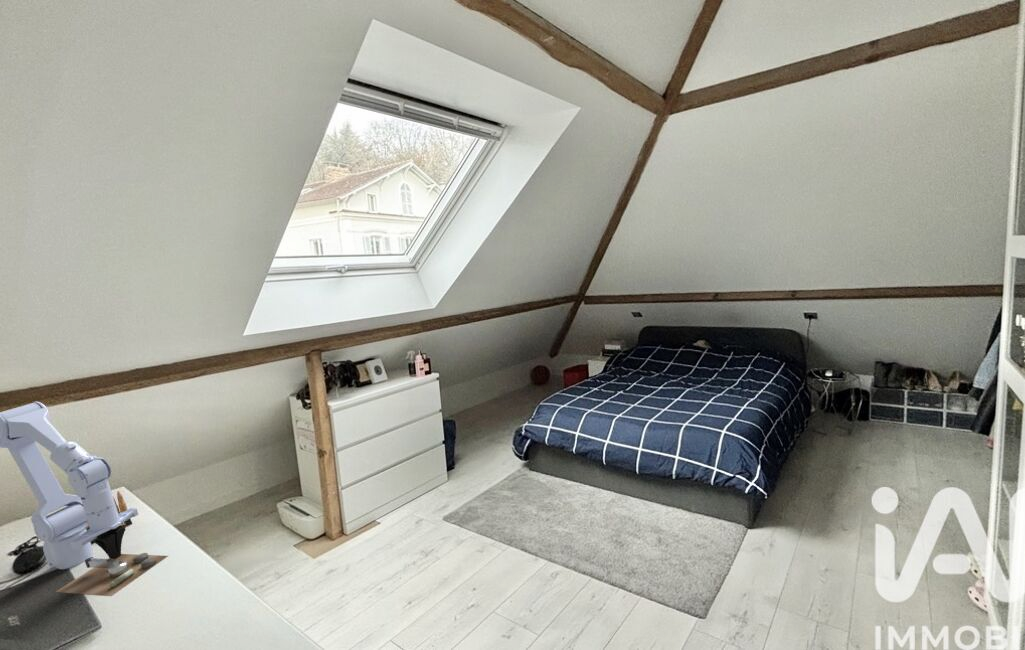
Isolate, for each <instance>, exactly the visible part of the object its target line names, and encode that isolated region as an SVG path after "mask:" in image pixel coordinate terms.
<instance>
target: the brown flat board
mask: <svg viewBox="0 0 1025 650" xmlns="http://www.w3.org/2000/svg"><path fill="white" fill-rule="evenodd" d="M167 557H169V555H155V554H148V552H143V553H140V554H134V553H133V554H131V553H130V554H129V553H121V556H120V557H118V558H117V559H118V561H119V562H120V561H127V564H128V568H129V570H128V571H127V572H125V573H124V574H122V575H121V576H119V577H116V578H111V577H110V574H109V571H108V568H93V567H91V569H90V570H88V571H86V572H84V573H83V574H82V575H80V576H78V577H76V578H75V579H74V580H72V581H71V582H69V583H67V584H65V585H64V586H63V587H61V588H59V589H58V590H56V591H55V593H64V594H76V595H87V596H89V595H91V596H104V597H112V596H114V595H115V594H117V593H118V592H119V591H121V590H123V588H126V587H127V586H128V585H129V584H131V583H132V582H134V581H135V580H136V579H138V578H140V577H141V576H142V575H144V574H145V573H146V572H147V571H149V570H151V569H152V568H154V567H155V566H157V564H159V563H160V562H162V561H163V560H165V559H166V558H167ZM107 559H110V558H109V557H108V558H107Z"/></svg>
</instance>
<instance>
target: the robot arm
mask: <svg viewBox="0 0 1025 650" xmlns="http://www.w3.org/2000/svg"><path fill="white" fill-rule="evenodd" d="M38 444H39V445H40V446H42V447H43V448H45V449H46V450H47V451H49V452H50V456H49V459H50V461H51V462H52V463H54V464H55V465H56V466H57V467H58V468H60V470H61V471H62V472H64V473H65V474H66V475H67V476H68V479H67V481H68V484H69V485H70V486H71V488H72V489H73V490H74V492H75V494H69V493H65V492H64V490H63V488H62V486H61V485H60V483H59V481H58V479H57V477H56V475H55V474H54V473H53V471H52V469H51V466H50V465H49V463H48V461H47V460H46V458H45V456H44V455H43V452H42V451H41V450H40V448H39V446H38ZM0 448H5V449H7V450H8V452H10V453H9V454H10V455H11V456H12V458H13V460H14V462H15V463H16V466H17V467H18V469H19V470H20V472H21V474H22V475H23V478H24V479H25V481H26V483H27V484H28V486H29V487H30V490H31V492H32V494H33V495H34V496H35V499H36V500H37V502H38V504H39V506H38V507H37V508H36V510H35V511H34V513H33V514H32V516H31V518H30V521H31V524H32V527H33V531H34V534H35V535H36V538H38V539H39V540H40V541H42V542H44V543H43V547H42V550H43V553H44V557H45V559H46V562H47V565H48V569H47V570H45V572H48V571H49V570H50V569H53V568H57V569H59V570H66V569H71V568H73V567H76V566H79V565H81V564H82V563H85V560H86V559H88V558H90V557H93V556H94V554H95V552H94V549H93V547H92V545H91V542H90V541H92V542H94V543H93V544H96V545H97V546H99V547H100V548H101V550H103V551H104V553H105V554H106V555H107V557H108V558H110V559H117V558H118V557H120V556H121V554H122V543H123V537H124V535H125V531H126V527H125V526H121V523H123V524H124V522H125V521H127V520H128V519H131V518H135V517H137V516H139V512H138V511H139V510H138V509H137V508H136V507H131V508H128V509H127V511H124V512H122V513H121V512H120V514H118V512H117V508H116V505H115V502H114V499H115V498H114V499H113V497H114V495H113V493H112V490H111V486H110V483H109V480H108V479H109V478H111V476H112V468H111V466H110V464H109V462H108V461H107V460H106V459H105V458H103V457H101V456H97V455H91V454H90V453H89V452H87V451H86V450H85V449H84V448H83V447H82V446H80V444H78V443H77V442H76V441H67V440H66V439H65V438H64V437H63V436H62V434H61V433H60V432H59V431H58V430H57V429H56V428H55V426H54V425H53V424H52V423H51V415H50V412H49V409H48V408H47V406H46V405H45V404H44V403H42V402H40V401H34V402H31V403H28V404H26V405H25V404H24V405H21V406H18V407H13V408H10V409H7V410H3V411H0ZM60 508H61V509H60ZM56 510H57V511H56ZM54 511H55V512H54ZM52 512H53V513H52ZM50 513H51V514H50ZM48 514H49V515H48ZM88 524H89V527H90V529H89V530H86V527H87V526H88Z"/></svg>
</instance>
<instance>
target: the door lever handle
mask: <svg viewBox="0 0 1025 650" xmlns="http://www.w3.org/2000/svg"><path fill="white" fill-rule="evenodd" d="M84 564H85V566H86V568H87V569H89V568H108V571H109V574H110V577H111V578H116V577H119V576H121V575H122V574H124V573H125V572H127V571H128V570H129V568H128V564H127V561H120V562H119V561H118V559H108V558H94V557H93V556H92V557H90V558H88V559H86V560H85V561H84Z"/></svg>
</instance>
